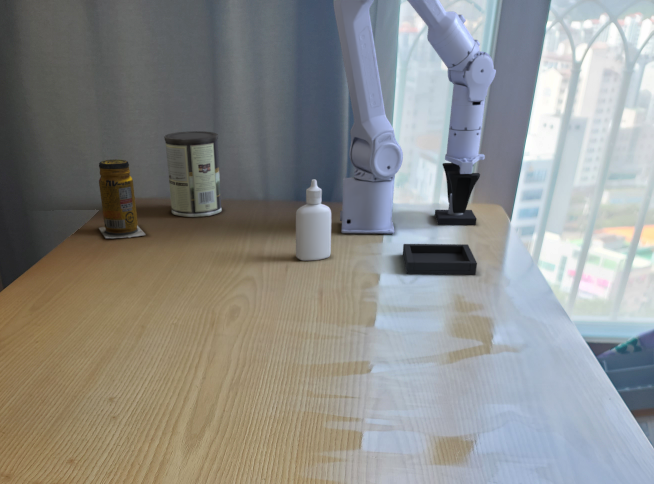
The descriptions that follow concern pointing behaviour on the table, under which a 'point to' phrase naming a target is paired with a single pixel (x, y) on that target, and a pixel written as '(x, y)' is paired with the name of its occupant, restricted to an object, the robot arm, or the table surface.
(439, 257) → the socket pad
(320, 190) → the eye dropper bottle
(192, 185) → the coffee can
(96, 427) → the table surface
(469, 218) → the stud pad
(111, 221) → the condiment
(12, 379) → the table surface
